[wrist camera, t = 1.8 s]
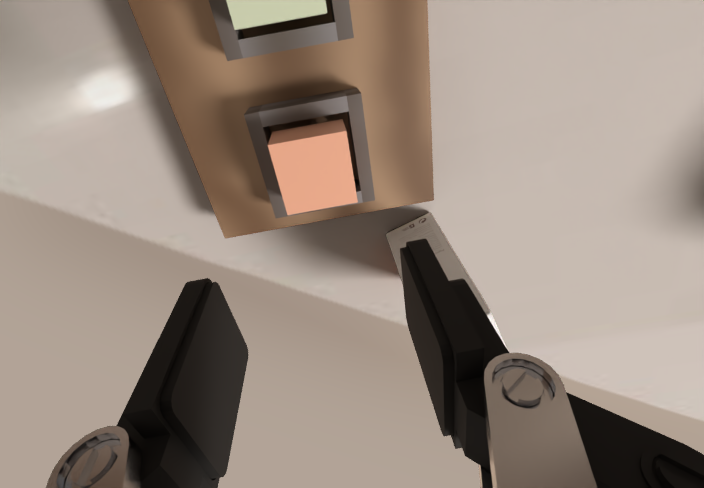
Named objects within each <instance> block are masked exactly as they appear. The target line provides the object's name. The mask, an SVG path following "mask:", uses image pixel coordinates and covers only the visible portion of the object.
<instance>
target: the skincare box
mask: <svg viewBox="0 0 704 488" xmlns="http://www.w3.org/2000/svg"><path fill="white" fill-rule="evenodd" d="M386 237H387V240H388V243H389V246H390V249H391V251H392V254H393V257H394V260H395V263H396V266H397V269H398V272H399V275H400V278H401V281H402V284H403V278H402V268H401V258H400V248H404V247H406V242H408V241H414V240H419V239H427V241H428V243H429V244H430V246H431V248H432V250H433V252H434V254H435V256H436V258H437V260H438V261H439V263H440V265H441V267H442V269H443V271H444V273H445V275H446V276H447V278H448V280H449V281H450V280H456V279H461V278H463V279H464V280H465V281H466V282H467V283H468V285H469V287H470V288H471V290H472V292H473V293H474V295H475V297H476V298H477V300H478V302H479V303H480V305H481V307H482V308H483V310H484V312H485V313H486V315H487V317H488V318H489V320H490V322H491V323H492V325H493V327H494V328H495V330H496V332H497V333H498V335H499V337H500V338H501V340H502V342H503V343H504V345H505V342H504V341H503V339H502V336H501V334H500V331H499V329H498V326H497V324H496V322H495V319H494V317H493V315H492V313H491V311H490V309H489V307H488V305H487V304H486V302H485V300H484V299H483V297H482V295H481V293H480V292H479V290H478V289H477V287H476V286H475V284H474V283H473V281H472V279H471V278H470V276H469V274H468V273H467V271H466V269H465V268H464V266H463V264H462V263H461V261H460V259H459V258H458V256H457V255H456V253H455V251H454V250H453V248H452V246H451V245H450V243H449V241H448V240H447V238H446V236H445V235H444V233H443V231H442V230H441V228H440V226H439V225H438V223H437V222H436V220H435V218H434V217H433V215H432V213H427V214H425V215H423V216H421V217H419V218H417V219H415V220H413V221H411V222H409V223H407V224H405V225H403V226H401V227H399V228H397V229H395V230H393V231H390V232H389V233H387V234H386ZM505 347H506V345H505Z"/></svg>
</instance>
